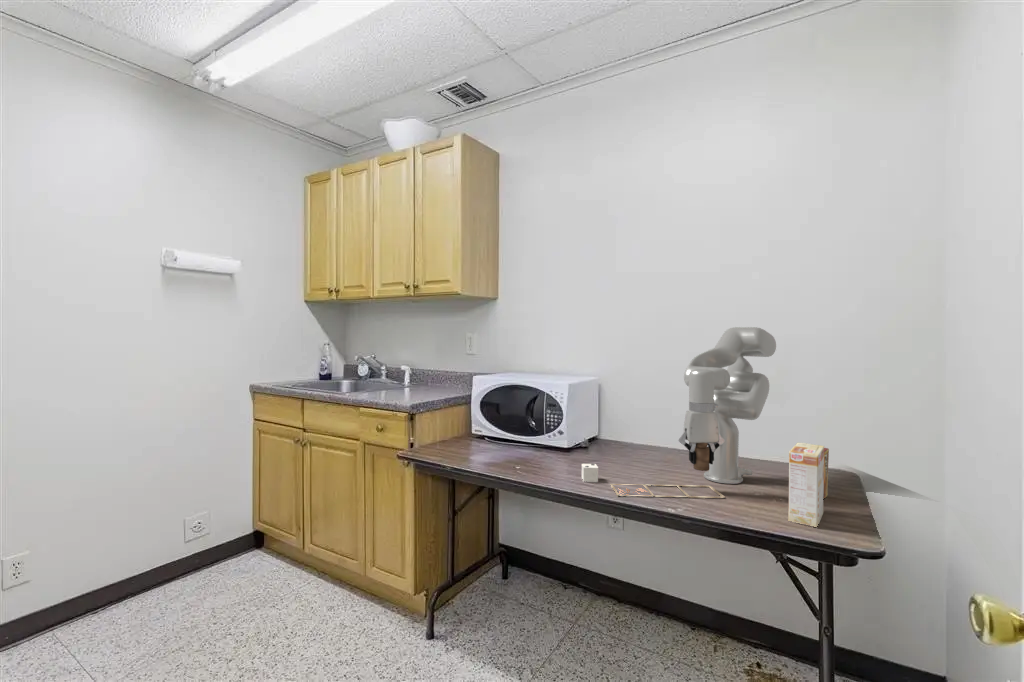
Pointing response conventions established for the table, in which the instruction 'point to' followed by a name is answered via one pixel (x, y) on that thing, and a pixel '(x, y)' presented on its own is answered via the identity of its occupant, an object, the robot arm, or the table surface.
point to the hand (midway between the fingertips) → (701, 462)
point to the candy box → (825, 471)
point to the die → (590, 472)
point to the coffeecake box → (806, 484)
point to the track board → (665, 496)
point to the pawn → (702, 457)
